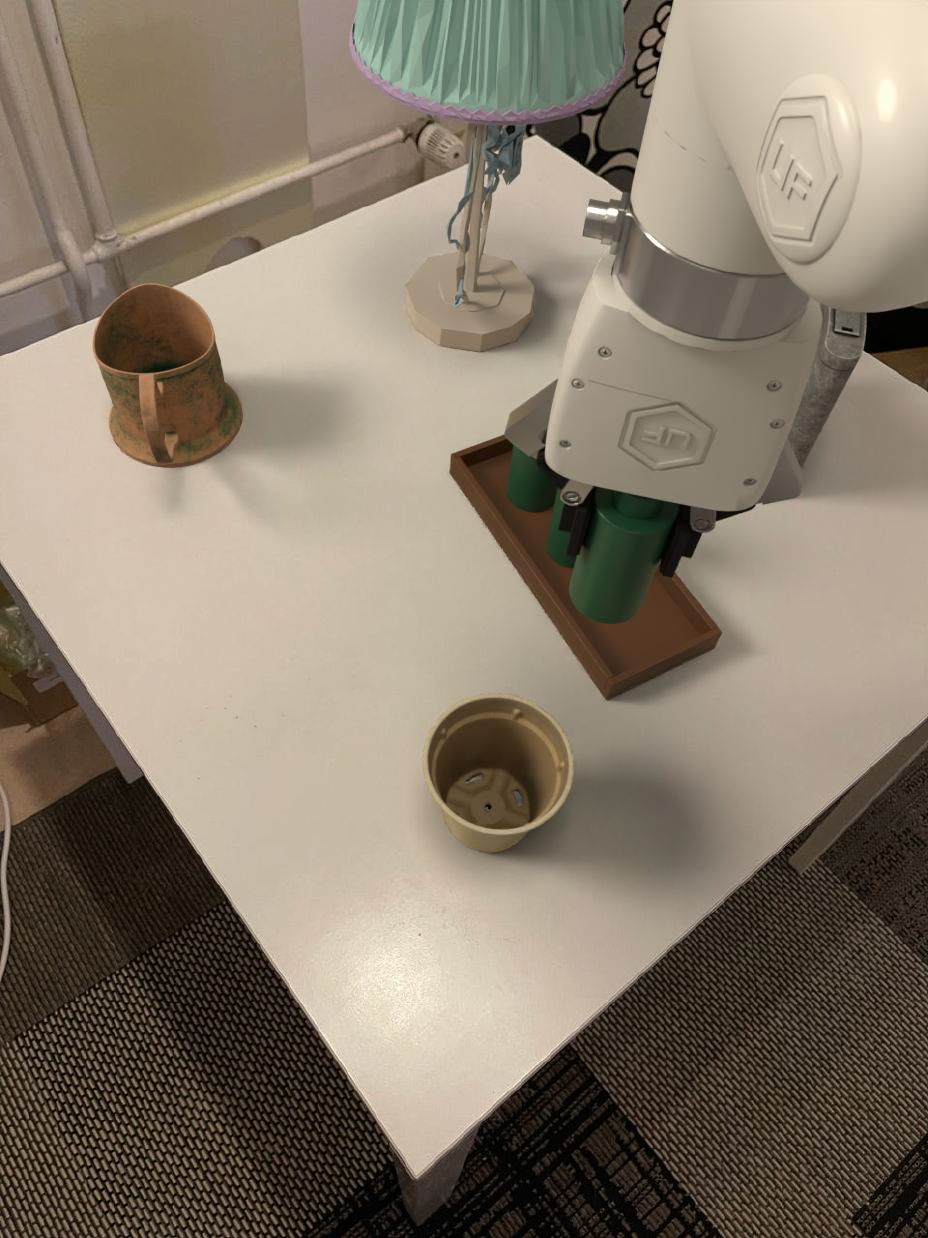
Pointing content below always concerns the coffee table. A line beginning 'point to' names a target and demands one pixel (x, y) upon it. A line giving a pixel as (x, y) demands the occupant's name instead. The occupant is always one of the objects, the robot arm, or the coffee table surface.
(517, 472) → the bottle far
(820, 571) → the coffee table surface
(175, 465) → the mug
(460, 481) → the tray
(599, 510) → the bottle
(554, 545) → the bottle mid
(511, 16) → the table lamp
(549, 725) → the flower pot
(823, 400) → the flask
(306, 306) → the coffee table surface
